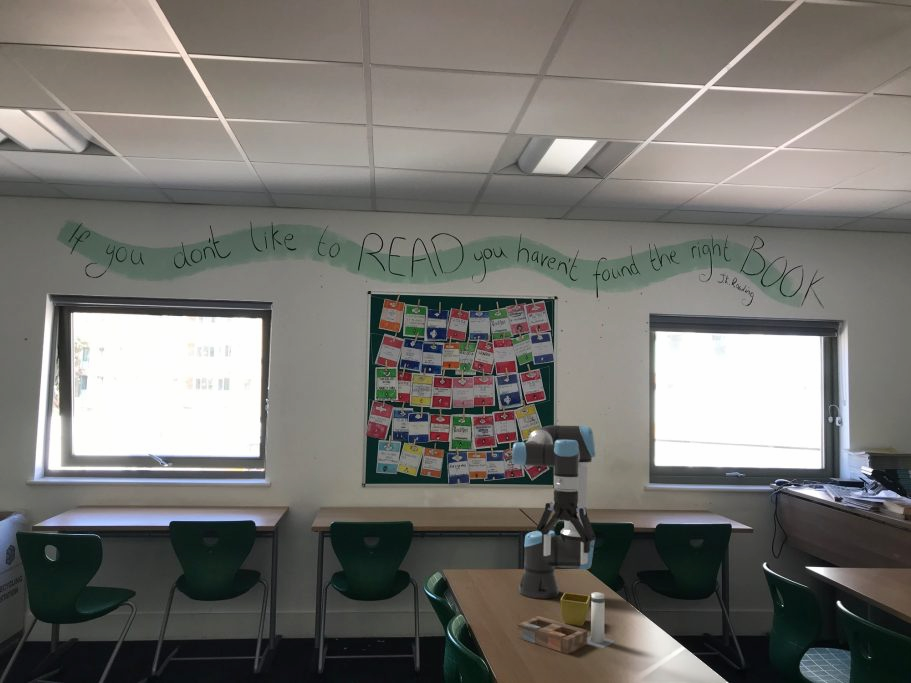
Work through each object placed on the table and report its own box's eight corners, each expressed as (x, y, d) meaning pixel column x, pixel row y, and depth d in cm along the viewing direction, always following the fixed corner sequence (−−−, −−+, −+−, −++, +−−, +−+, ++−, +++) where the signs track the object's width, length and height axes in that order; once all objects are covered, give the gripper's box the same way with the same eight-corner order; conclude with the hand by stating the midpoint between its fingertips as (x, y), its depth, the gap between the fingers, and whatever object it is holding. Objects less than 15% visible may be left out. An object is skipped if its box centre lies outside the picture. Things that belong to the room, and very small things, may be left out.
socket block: (537, 632, 210) (538, 615, 210) (587, 647, 198) (587, 629, 198) (517, 641, 201) (517, 623, 202) (567, 657, 189) (567, 638, 190)
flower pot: (590, 622, 220) (590, 595, 221) (586, 631, 212) (587, 602, 212) (564, 619, 223) (564, 592, 223) (559, 627, 214) (560, 599, 215)
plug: (594, 637, 203) (595, 591, 205) (606, 641, 201) (607, 594, 202) (588, 641, 200) (588, 594, 202) (600, 644, 198) (600, 597, 199)
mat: (592, 637, 206) (592, 634, 206) (615, 644, 201) (615, 641, 201) (579, 644, 200) (579, 640, 200) (602, 651, 195) (602, 648, 195)
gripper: (526, 486, 210) (525, 553, 208) (594, 495, 193) (593, 569, 191) (540, 484, 215) (539, 550, 213) (607, 493, 198) (607, 565, 196)
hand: (565, 559), depth 202 cm, fingers open, 13 cm apart
